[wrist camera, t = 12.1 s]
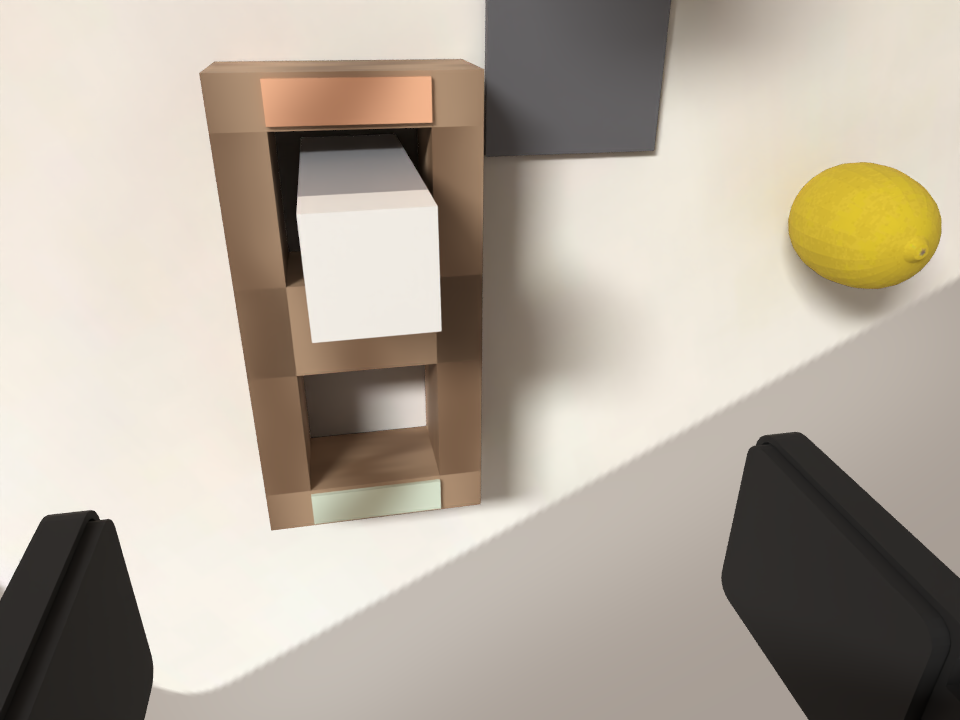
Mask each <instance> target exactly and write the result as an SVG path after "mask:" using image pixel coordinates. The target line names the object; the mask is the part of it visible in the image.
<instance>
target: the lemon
mask: <svg viewBox="0 0 960 720" xmlns="http://www.w3.org/2000/svg"><path fill="white" fill-rule="evenodd" d="M788 223H789V235H790V239H791V242H792V245H793V248H794V249H795V251H796V252H797V254H798V255H799V257H800V258H801V260H802V261H803V262H804V263H805V264H806V265H807V266H809V267H810V268H811V269H812V270H814V271H815V272H816V273H818V274H819V275H820V276H822V277H824V278H826V279H828V280H831V281H834V282H837V283H840V284H843V285H846V286H850V287H855V288H865V289H880V288H885V287H889V286H893V285H897V284H899V283H901V282H903V281H905V280H907V279H909V278H911V277H912V276H914V275H915V274H917V273H918V272H919V271H921V269H922V268H923V267H924V266H925V265H926V264H927V263H928V262H929V261H930V259H931V258H932V256H933V255H934V253H935V251H936V249H937V246H938V244H939V241H940V237H941V216H940V212H939V209H938V206H937V204H936V202H935V201H934V199H933V198H932V197H931V195H930V194H929V193H928V191H927V190H926V189H925V188H924V187H923V186H922V185H921V184H919V183H918V182H917V181H915V180H913V179H912V178H910V177H909V176H907V175H906V174H904V173H902V172H900V171H898V170H896V169H894V168H891V167H887V166H883V165H878V164H874V163H866V162H860V163H847V164H841V165H838V166H835V167H832V168H829V169H827V170H825V171H823V172H821V173H820V174H818V175H817V176H815V177H813V178H812V179H811V180H810V181H809V182H808V183H807V184H806V185H805V186H804V187H803V188H802V189H801V191H800V192H799V193H798V195H797V196H796V198H795V200H794V202H793V205H792V207H791V211H790V215H789V219H788Z"/></svg>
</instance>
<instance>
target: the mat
mask: <svg viewBox="0 0 960 720" xmlns="http://www.w3.org/2000/svg"><path fill="white" fill-rule="evenodd" d="M670 5H671V0H486V21H485V130H484V155H485V156H486V157H490V156H518V155H546V154H574V153H602V152H630V151H654V147H655V138H656V129H657V120H658V111H659V102H660V93H661V85H662V76H663V67H664V58H665V49H666V40H667V31H668V23H669V14H670Z"/></svg>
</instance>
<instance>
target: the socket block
mask: <svg viewBox="0 0 960 720" xmlns="http://www.w3.org/2000/svg"><path fill="white" fill-rule="evenodd" d="M199 74H200V80H201V87H202V93H203V100H204V106H205V112H206V119H207V125H208V131H209V138H210V144H211V150H212V157H213V163H214V169H215V176H216V182H217V188H218V195H219V201H220V207H221V214H222V220H223V226H224V233H225V239H226V245H227V252H228V258H229V265H230V271H231V277H232V284H233V290H234V296H235V303H236V309H237V315H238V322H239V328H240V334H241V341H242V347H243V353H244V360H245V366H246V372H247V379H248V385H249V391H250V398H251V404H252V410H253V417H254V423H255V430H256V436H257V442H258V449H259V455H260V461H261V468H262V474H263V480H264V487H265V493H266V499H267V506H268V512H269V518H270V525H271V530H279V529H287V528H295V527H303V526H311V525H319V524H327V523H335V522H343V521H350V520H358V519H366V518H374V517H382V516H390V515H398V514H406V513H414V512H422V511H430V510H438V509H446V508H454V507H462V506H470V505H477V504H480V503H481V388H482V273H483V159H484V69H482V68H480V67H478V66H476V65H473V64H471V63H469V62H467V61H465V60H463V59H434V60H338V61H241V62H213V63H212V64H211V65H210V66H208V67H207V68H206V69H204V70H203V71H202V72H200V73H199ZM386 128H417V142H418V173H419V175H420V177H421V179H422V180H423V182H424V184H425V185H426V187H427V189H428V191H429V192H430V194H431V196H432V197H433V199H434V201H435V202H436V204H437V206H438V233H439V265H440V297H441V329H442V331H440V332H429V333H418V334H407V335H396V336H385V337H374V338H363V339H352V340H341V341H329V342H318V343H312V339H311V330H310V322H309V314H308V306H307V297H306V289H305V281H304V273H303V265H302V256H301V251H295V252H289V249H288V240H287V232H286V223H285V215H284V206H283V198H282V189H281V181H280V172H279V164H278V155H277V147H276V138H275V132H277V131H314V130H350V129H386ZM416 365H425V396H426V426H422V427H412V428H403V429H393V430H384V431H374V432H365V433H355V434H345V435H336V436H326V437H317V438H311V436H310V427H309V419H308V410H307V402H306V393H305V385H304V376H303V375H314V374H325V373H336V372H348V371H359V370H370V369H382V368H393V367H404V366H416Z"/></svg>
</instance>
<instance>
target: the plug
mask: <svg viewBox="0 0 960 720" xmlns="http://www.w3.org/2000/svg"><path fill="white" fill-rule="evenodd" d="M296 215H297V223H298V232H299V240H300V248H301V256H302V265H303V273H304V281H305V289H306V297H307V306H308V314H309V322H310V330H311V339H312V343H318V342H329V341H341V340H352V339H363V338H374V337H385V336H396V335H407V334H418V333H429V332H440V331H442V329H441V297H440V265H439V233H438V206H437V204H436V202H435V201H434V199H433V197H432V196H431V194H430V192H429V191H428V189H427V187H426V185H425V184H424V182H423V180H422V179H421V177H420V175H419V173H418V172H417V170H416V168H415V167H414V165H413V163H412V161H411V160H410V158H409V156H408V155H407V153H406V151H405V150H404V148H403V146H402V144H401V143H400V141H399V139H398V138H397V136H396V134H380V135H355V136H330V137H306V138H301V146H300V163H299V180H298V196H297V213H296Z"/></svg>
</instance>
